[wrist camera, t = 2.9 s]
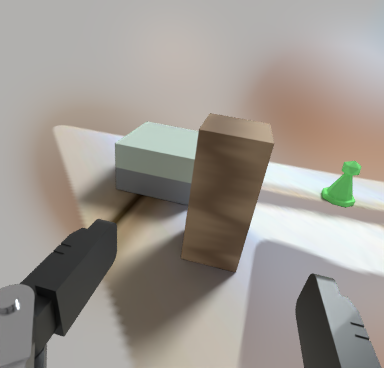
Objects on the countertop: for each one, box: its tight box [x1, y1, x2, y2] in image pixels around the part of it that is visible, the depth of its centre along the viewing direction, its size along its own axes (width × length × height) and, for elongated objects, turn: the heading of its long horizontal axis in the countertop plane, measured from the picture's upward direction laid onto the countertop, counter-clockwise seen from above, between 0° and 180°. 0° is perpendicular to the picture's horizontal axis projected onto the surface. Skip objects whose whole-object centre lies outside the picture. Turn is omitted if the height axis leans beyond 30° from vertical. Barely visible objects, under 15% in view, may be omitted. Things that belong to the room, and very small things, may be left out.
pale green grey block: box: [115, 122, 199, 205], centre depth 34 cm, size 10×10×6 cm
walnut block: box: [181, 113, 274, 272], centre depth 22 cm, size 5×5×12 cm
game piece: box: [322, 161, 361, 208], centre depth 35 cm, size 4×4×6 cm
